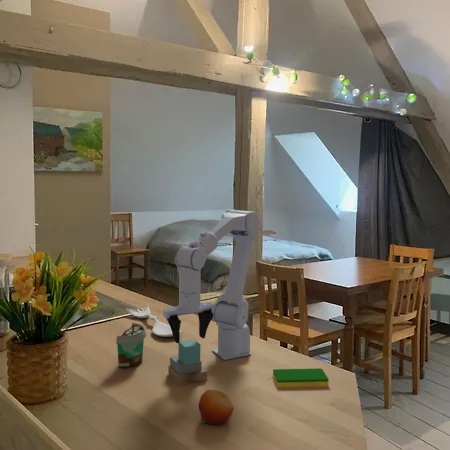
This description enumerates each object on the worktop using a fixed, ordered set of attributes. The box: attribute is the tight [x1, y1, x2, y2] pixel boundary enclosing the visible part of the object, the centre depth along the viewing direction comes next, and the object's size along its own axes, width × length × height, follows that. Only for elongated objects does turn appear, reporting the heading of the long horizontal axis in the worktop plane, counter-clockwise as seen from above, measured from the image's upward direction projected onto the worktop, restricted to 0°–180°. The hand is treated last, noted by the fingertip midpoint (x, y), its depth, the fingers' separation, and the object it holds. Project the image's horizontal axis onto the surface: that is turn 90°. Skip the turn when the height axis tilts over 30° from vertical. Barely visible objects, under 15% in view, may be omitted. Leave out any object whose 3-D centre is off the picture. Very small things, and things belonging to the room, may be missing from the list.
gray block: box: [169, 355, 203, 375], centre depth 140 cm, size 6×6×2 cm
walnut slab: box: [167, 364, 208, 387], centre depth 141 cm, size 8×8×3 cm
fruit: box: [198, 389, 235, 426], centre depth 118 cm, size 8×8×8 cm
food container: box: [115, 322, 147, 370], centre depth 149 cm, size 12×6×10 cm, turn 168°
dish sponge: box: [272, 368, 329, 388], centre depth 139 cm, size 7×14×2 cm, turn 95°
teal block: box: [177, 338, 201, 365], centre depth 139 cm, size 4×4×5 cm
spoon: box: [125, 304, 182, 338], centre depth 181 cm, size 9×32×4 cm, turn 32°
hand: (189, 339), depth 140 cm, fingers open, 7 cm apart
